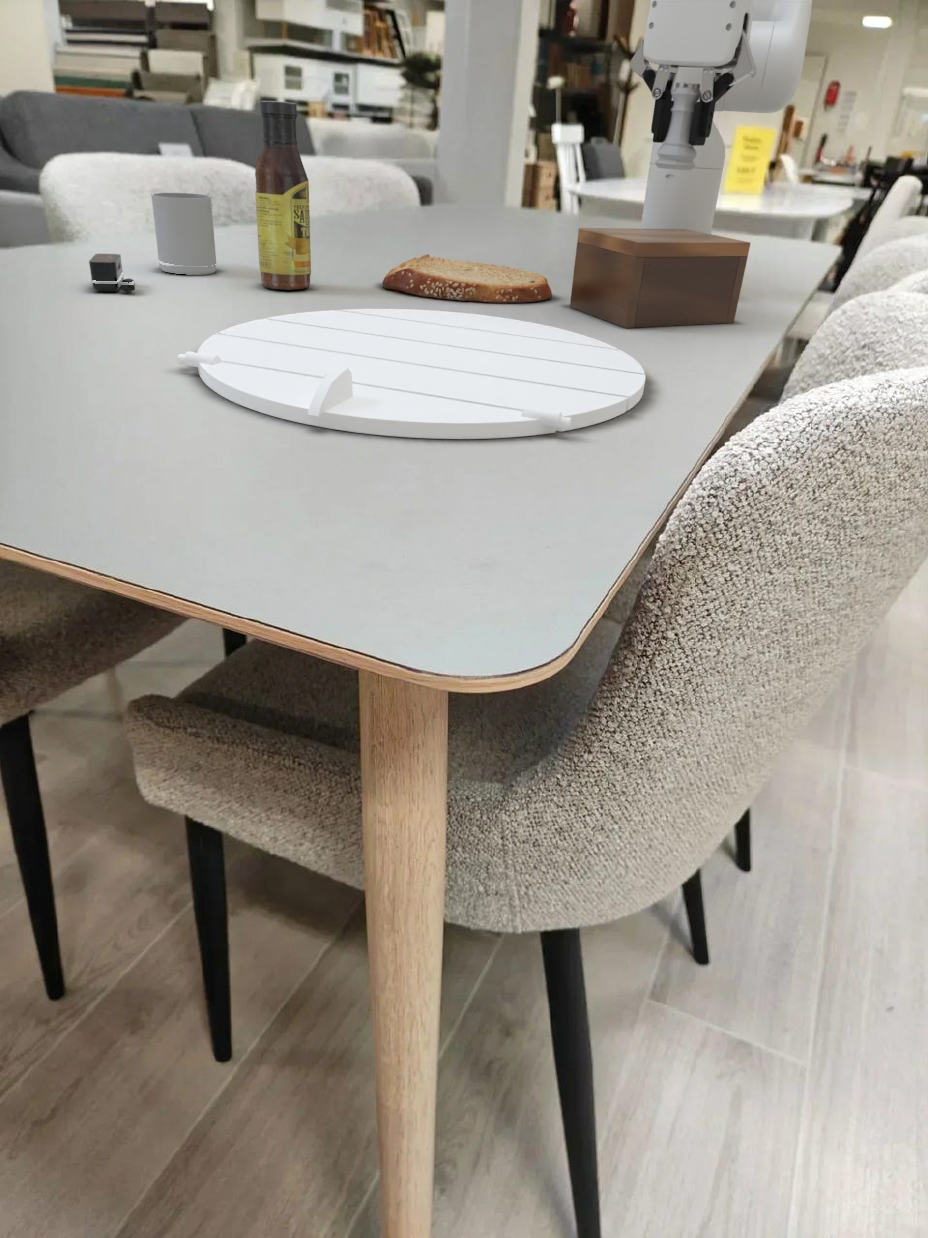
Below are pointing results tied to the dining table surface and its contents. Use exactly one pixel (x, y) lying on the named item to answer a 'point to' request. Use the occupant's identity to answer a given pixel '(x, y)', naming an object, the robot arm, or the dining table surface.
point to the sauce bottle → (282, 202)
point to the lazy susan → (419, 373)
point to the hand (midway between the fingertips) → (678, 141)
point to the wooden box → (657, 276)
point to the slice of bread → (466, 281)
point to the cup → (184, 232)
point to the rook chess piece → (680, 130)
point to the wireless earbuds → (108, 273)
